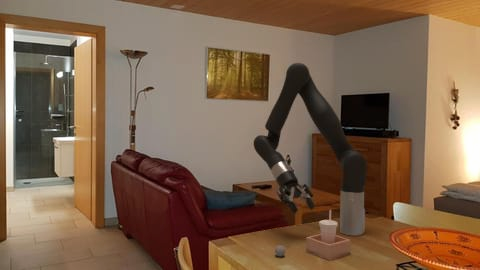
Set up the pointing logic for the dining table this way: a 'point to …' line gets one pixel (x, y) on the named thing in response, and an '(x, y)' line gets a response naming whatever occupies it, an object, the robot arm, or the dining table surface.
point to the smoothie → (328, 230)
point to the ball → (279, 250)
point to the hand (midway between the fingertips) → (304, 210)
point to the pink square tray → (328, 247)
